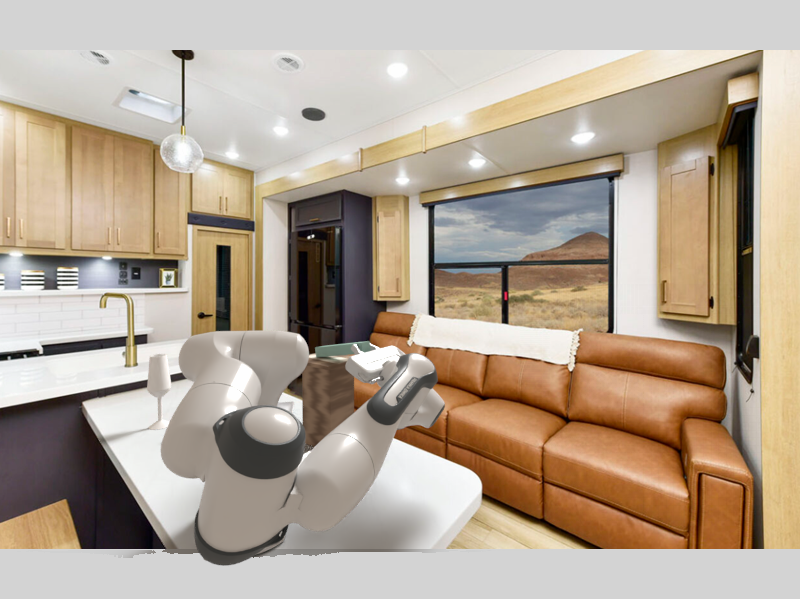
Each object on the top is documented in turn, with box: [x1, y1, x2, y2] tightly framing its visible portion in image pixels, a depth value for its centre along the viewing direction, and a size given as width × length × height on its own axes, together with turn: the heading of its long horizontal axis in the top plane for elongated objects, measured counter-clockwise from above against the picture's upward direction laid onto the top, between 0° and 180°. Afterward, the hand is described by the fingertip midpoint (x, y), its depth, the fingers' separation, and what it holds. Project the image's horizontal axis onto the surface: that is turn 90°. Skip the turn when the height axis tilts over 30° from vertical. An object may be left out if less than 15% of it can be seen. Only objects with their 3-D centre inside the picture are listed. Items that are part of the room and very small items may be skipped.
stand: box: [301, 352, 355, 448], centre depth 107 cm, size 15×14×26 cm
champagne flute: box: [146, 353, 172, 431], centre depth 117 cm, size 7×7×24 cm
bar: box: [314, 340, 371, 357], centre depth 103 cm, size 19×4×3 cm, turn 56°
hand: (359, 344), depth 99 cm, fingers closed on bar, 3 cm apart
